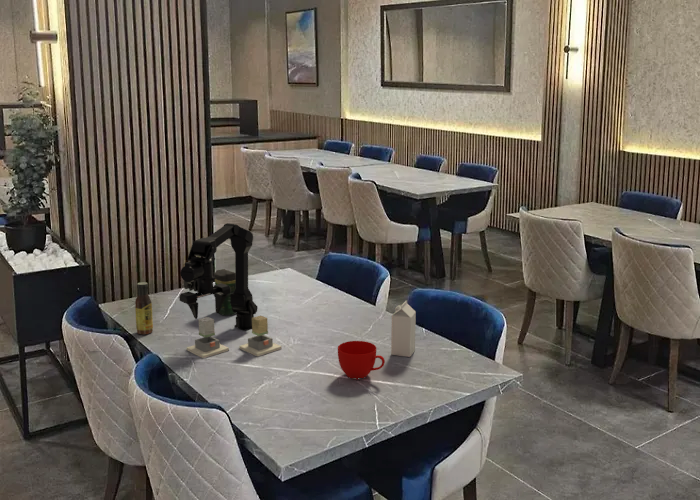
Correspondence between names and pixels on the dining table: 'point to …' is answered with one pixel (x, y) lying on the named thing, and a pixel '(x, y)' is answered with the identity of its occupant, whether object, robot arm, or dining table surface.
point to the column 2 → (259, 325)
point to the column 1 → (206, 327)
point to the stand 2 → (260, 345)
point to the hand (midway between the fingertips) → (206, 315)
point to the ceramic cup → (358, 358)
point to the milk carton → (403, 331)
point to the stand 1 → (207, 347)
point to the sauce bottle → (143, 310)
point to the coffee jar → (228, 279)
